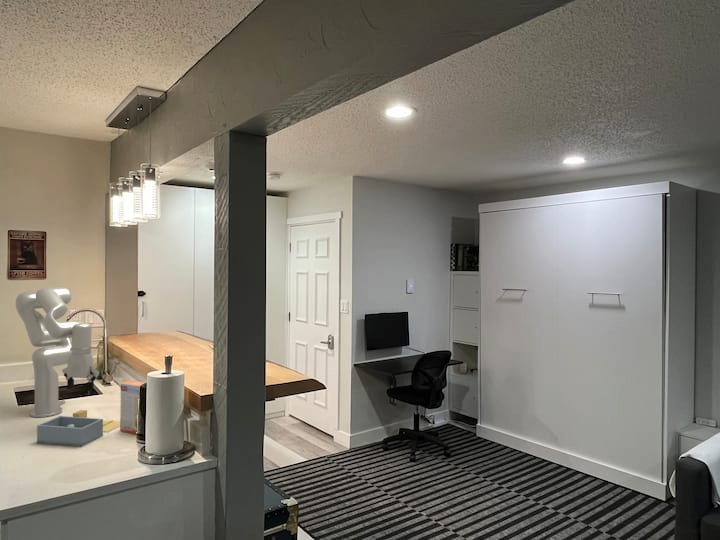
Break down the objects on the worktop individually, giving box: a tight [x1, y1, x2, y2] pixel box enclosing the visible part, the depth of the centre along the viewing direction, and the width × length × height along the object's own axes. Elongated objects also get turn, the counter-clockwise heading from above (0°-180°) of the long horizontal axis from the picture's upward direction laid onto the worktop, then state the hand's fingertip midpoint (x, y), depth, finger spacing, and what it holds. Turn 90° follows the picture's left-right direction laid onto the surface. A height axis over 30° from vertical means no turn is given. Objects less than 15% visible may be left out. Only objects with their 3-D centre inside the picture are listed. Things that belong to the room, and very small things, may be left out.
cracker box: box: [119, 380, 145, 435], centre depth 206 cm, size 14×6×21 cm, turn 65°
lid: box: [72, 409, 120, 433], centre depth 213 cm, size 21×13×6 cm, turn 82°
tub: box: [36, 415, 104, 447], centre depth 197 cm, size 20×12×7 cm, turn 82°
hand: (80, 389), depth 214 cm, fingers open, 9 cm apart
